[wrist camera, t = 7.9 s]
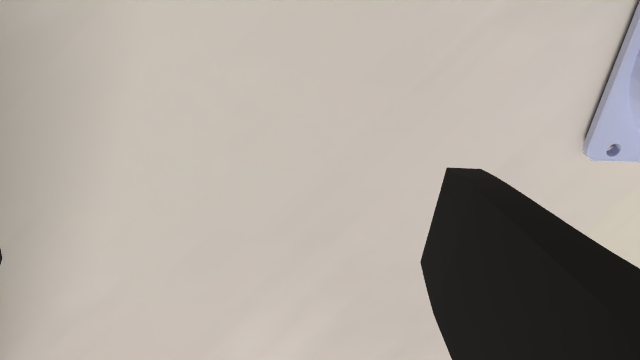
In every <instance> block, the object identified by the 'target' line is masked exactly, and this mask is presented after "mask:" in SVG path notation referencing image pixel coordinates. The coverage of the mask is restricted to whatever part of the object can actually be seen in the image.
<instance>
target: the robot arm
mask: <svg viewBox="0 0 640 360" xmlns="http://www.w3.org/2000/svg"><path fill="white" fill-rule="evenodd" d="M612 144H614V146H613V148H612V149H610V150H608V151H607V149H608V148H609V146H611V145H612ZM583 153H584V154H585V155H586V156H587V157H588V158H589V159H590V160H593V161H608V162H640V1H639V4H638V6H637V9H636V11H635V14H634V16H633V19H632V22H631V24H630V27H629V29H628V32H627V34H626V37H625V39H624V42H623V44H622V47H621V50H620V52H619V55H618V57H617V60H616V62H615V65H614V67H613V70H612V73H611V75H610V78H609V80H608V83H607V85H606V88H605V90H604V93H603V96H602V98H601V101H600V103H599V106H598V108H597V111H596V113H595V116H594V119H593V121H592V124H591V126H590V129H589V131H588V134H587V136H586V139H585V142H584V144H583ZM1 261H2V255H1V250H0V264H1ZM421 266H422V271H423V275H424V279H425V283H426V287H427V291H428V295H429V299H430V302H431V306H432V310H433V313H434V316H435V318H436V321H437V324H438V326H439V329H440V331H441V334H442V336H443V338H444V341H445V343H446V346H447V348H448V351H449V353H450V356H451V358H452V360H640V269H639V268H638V267H636V266H634V265H632V264H631V263H629V262H627V261H626V260H624V259H622V258H621V257H619V256H617V255H616V254H614V253H612V252H611V251H609V250H608V249H606V248H604V247H603V246H601V245H600V244H598V243H597V242H595V241H593V240H592V239H590V238H589V237H587V236H586V235H584V234H583V233H581V232H579V231H578V230H576V229H575V228H573V227H572V226H570V225H569V224H567V223H566V222H564V221H563V220H561V219H560V218H558V217H557V216H555V215H554V214H552V213H551V212H549V211H548V210H546V209H545V208H543V207H542V206H540V205H539V204H537V203H536V202H534V201H533V200H531V199H530V198H528V197H527V196H525V195H524V194H522V193H521V192H519V191H518V190H516V189H514V188H513V187H511V186H510V185H508V184H507V183H505V182H503V181H502V180H500V179H498V178H497V177H495V176H493V175H492V174H490V173H488V172H486V171H484V170H482V169H466V168H447V169H446V173H445V176H444V180H443V183H442V187H441V191H440V194H439V198H438V201H437V205H436V208H435V212H434V216H433V219H432V223H431V226H430V230H429V234H428V237H427V241H426V244H425V248H424V251H423V255H422V259H421Z"/></svg>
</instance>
